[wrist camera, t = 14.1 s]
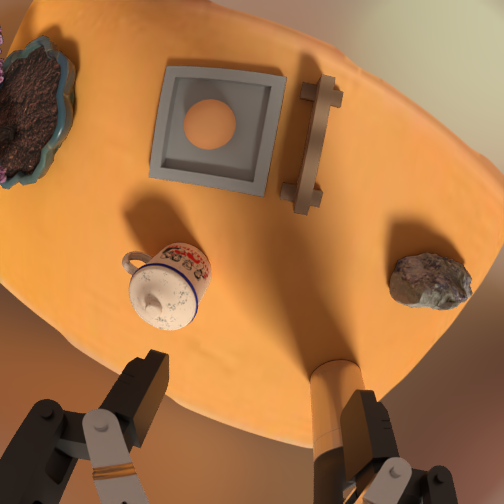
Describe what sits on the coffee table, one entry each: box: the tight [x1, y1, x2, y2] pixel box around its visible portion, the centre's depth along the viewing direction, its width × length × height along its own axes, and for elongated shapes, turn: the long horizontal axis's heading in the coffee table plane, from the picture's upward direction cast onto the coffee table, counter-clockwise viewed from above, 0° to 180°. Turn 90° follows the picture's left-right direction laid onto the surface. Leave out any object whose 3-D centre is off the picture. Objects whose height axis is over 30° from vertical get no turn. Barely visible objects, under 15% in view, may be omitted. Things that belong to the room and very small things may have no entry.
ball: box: [184, 99, 236, 150], centre depth 30 cm, size 6×6×6 cm
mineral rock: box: [389, 252, 472, 310], centre depth 33 cm, size 13×11×10 cm
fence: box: [280, 74, 343, 215], centre depth 31 cm, size 16×5×5 cm, turn 170°
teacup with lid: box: [122, 243, 212, 330], centre depth 36 cm, size 12×9×12 cm
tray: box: [149, 66, 287, 197], centre depth 33 cm, size 15×15×2 cm
